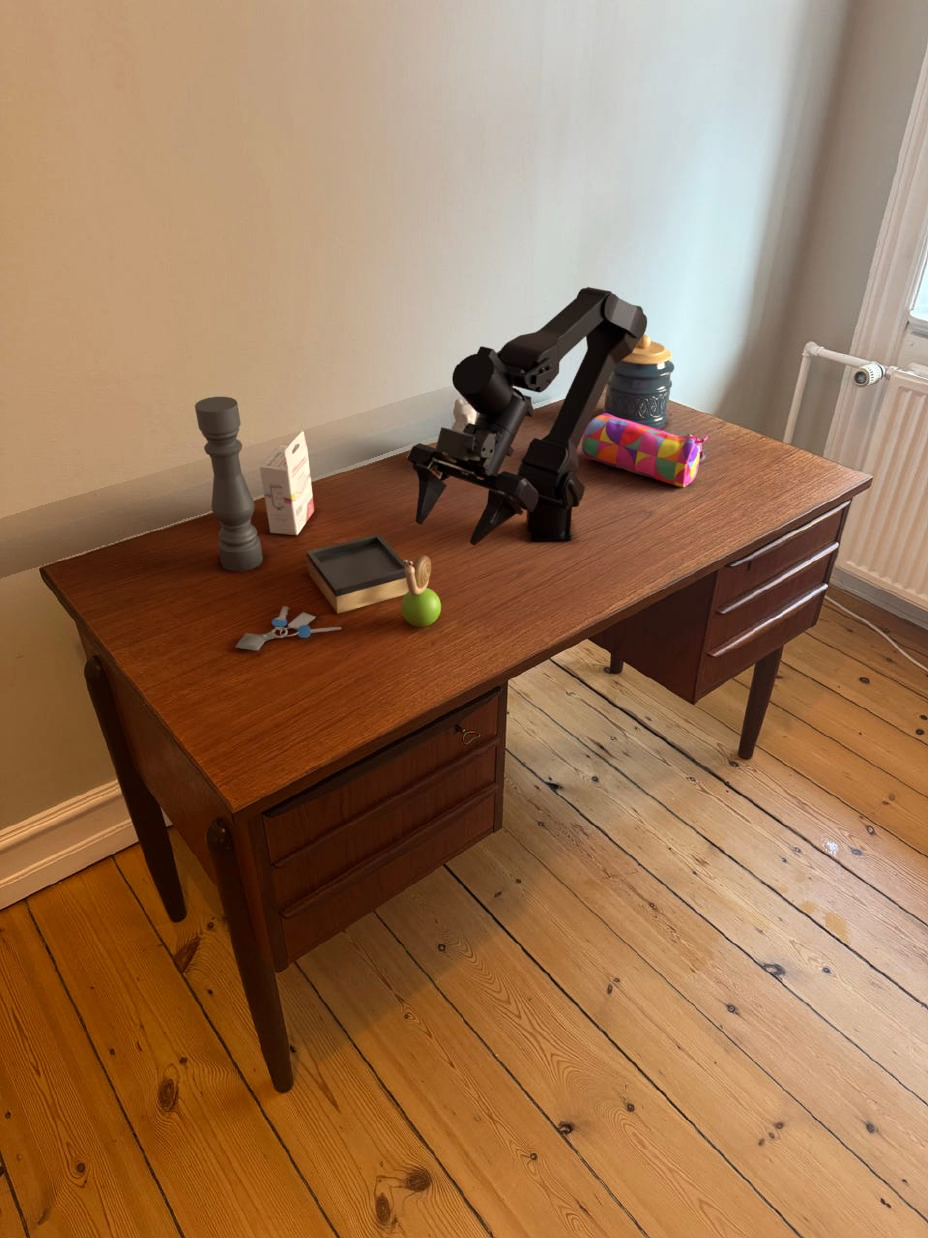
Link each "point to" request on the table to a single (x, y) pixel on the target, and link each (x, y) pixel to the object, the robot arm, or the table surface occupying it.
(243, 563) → the candle holder
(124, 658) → the table surface
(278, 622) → the key chain
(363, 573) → the square tray
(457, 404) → the white animal figure
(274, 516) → the ink cartridge box
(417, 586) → the green two-tone figurine
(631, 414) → the canister
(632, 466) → the pencil case
